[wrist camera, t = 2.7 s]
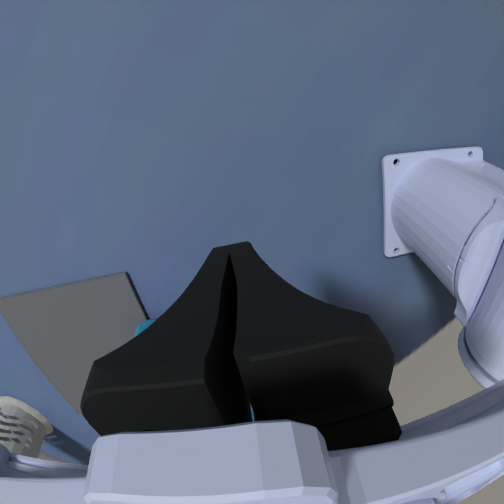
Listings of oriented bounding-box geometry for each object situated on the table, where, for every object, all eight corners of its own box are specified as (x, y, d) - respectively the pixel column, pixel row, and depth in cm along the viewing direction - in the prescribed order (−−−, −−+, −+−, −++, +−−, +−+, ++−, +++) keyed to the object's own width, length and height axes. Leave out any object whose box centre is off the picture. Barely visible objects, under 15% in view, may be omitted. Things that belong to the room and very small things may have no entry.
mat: (126, 271, 23) (125, 273, 23) (195, 407, 32) (195, 409, 32) (-5, 299, 24) (-7, 300, 24) (78, 411, 33) (77, 413, 32)
